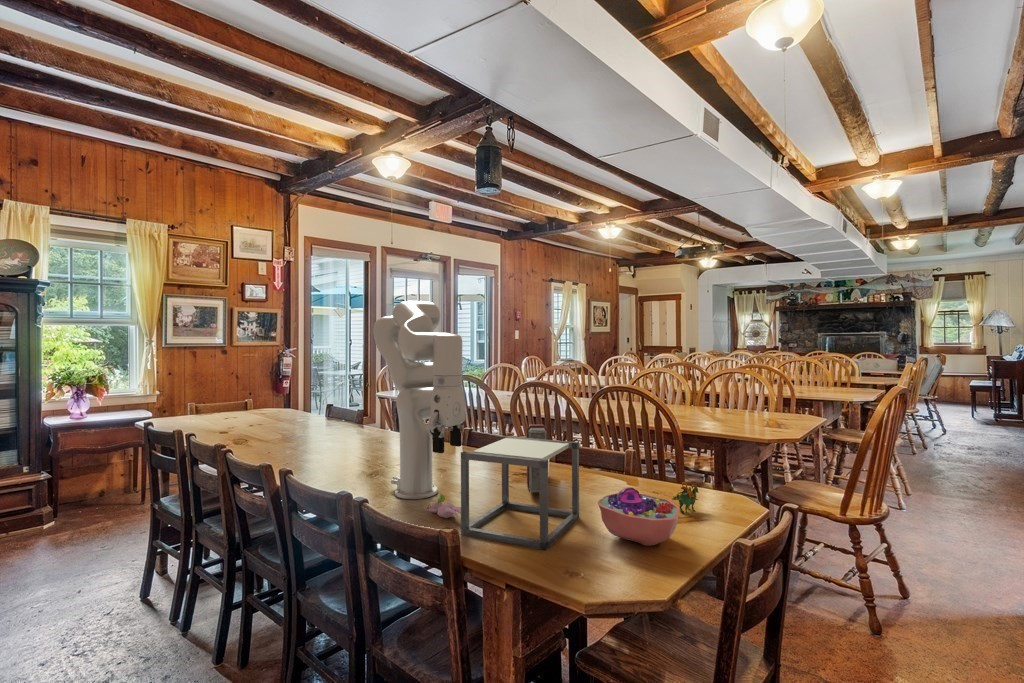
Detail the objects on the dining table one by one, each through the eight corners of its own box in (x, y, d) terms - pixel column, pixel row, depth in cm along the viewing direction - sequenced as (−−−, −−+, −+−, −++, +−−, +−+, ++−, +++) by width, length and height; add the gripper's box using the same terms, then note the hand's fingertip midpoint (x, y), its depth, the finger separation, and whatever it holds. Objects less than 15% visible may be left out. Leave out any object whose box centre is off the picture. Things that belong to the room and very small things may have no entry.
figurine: (703, 509, 142) (703, 479, 142) (676, 519, 134) (676, 487, 134) (693, 506, 144) (693, 476, 144) (666, 516, 137) (666, 484, 137)
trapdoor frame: (461, 534, 125) (460, 452, 124) (504, 506, 145) (503, 435, 145) (545, 550, 115) (545, 461, 115) (579, 517, 136) (578, 442, 136)
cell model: (635, 564, 108) (635, 509, 108) (584, 531, 127) (584, 484, 126) (699, 550, 115) (699, 498, 115) (641, 521, 133) (641, 476, 133)
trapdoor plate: (472, 455, 126) (472, 450, 126) (506, 441, 143) (506, 437, 143) (542, 463, 118) (542, 458, 118) (569, 447, 135) (569, 442, 135)
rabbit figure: (421, 517, 141) (449, 524, 129) (420, 494, 142) (447, 499, 130) (442, 512, 145) (471, 518, 133) (440, 490, 145) (469, 494, 134)
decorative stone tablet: (549, 428, 152) (545, 421, 182) (526, 428, 152) (526, 421, 182) (549, 496, 151) (545, 478, 181) (527, 496, 151) (526, 477, 181)
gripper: (441, 386, 127) (440, 458, 128) (476, 379, 143) (476, 443, 143) (415, 384, 130) (415, 454, 131) (453, 377, 146) (452, 441, 146)
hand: (447, 448), depth 137 cm, fingers open, 7 cm apart
